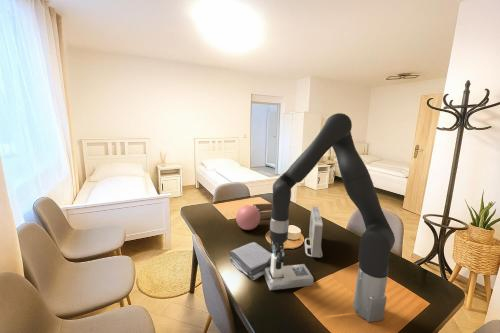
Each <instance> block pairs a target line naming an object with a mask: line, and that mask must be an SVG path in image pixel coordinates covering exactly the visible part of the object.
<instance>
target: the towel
mask: <svg viewBox="0 0 500 333" xmlns="http://www.w3.org/2000/svg"><path fill="white" fill-rule="evenodd" d="M271 253H272V252H270V251H268V250H267V249H266V248H264V247H263V246H261V245H260V244H258V243H257V242H255V241H253V242H249V243H247V244H245V245H244V244H243V245H242V246H240V247H237V248H234V249H233V250H230V252H229V261H230V262H231V264H232V265H234V266H235V267H236V269H237V270H239V271H240V272H242V273H244V274H245V275H246V276H248V277H249V278H250V279H251V280H252V281H255V280H257V279H258V278H260V277H261V276H264V268H269V267H271Z"/></svg>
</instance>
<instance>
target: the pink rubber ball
mask: <svg viewBox="0 0 500 333" xmlns="http://www.w3.org/2000/svg"><path fill="white" fill-rule="evenodd" d="M259 210H260V209H257V208H255V207H253V205H249V204H247V205H243V206H240V208H239V209H238V210H237V212H236V214H235V220H236V224H237V225H238V226H239V227H240V228H241V229H242V230H246V231H250V230H251V231H252V230H254V229H255V228H257V226H258V225H260V222H261V219H260V214H259V212H260V211H261V210H260V211H259Z"/></svg>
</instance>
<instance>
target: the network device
mask: <svg viewBox="0 0 500 333" xmlns="http://www.w3.org/2000/svg"><path fill="white" fill-rule="evenodd" d="M323 226H324V223H323V220H322V216H321V212H320V209H319V207H318V206H311V210H310V220H309V230H308V232H309V233H308V237H306V238H304V252H305V254H306V256H308V257H313V258H322V257H323V251H322V239H323V237H322V236H323V229H324V227H323ZM307 241H309V244H307ZM308 250H310V253H311V254H310V253H308Z"/></svg>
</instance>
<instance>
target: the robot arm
mask: <svg viewBox="0 0 500 333" xmlns="http://www.w3.org/2000/svg"><path fill="white" fill-rule="evenodd" d="M352 127H353V124H352V119H351V118H350V116H348V115H347V114H345V113H341V112H339V113H338V112H337V113H334V114H332V115H329V117H328V118H327V119H326V121H325V123H324V125H323V126H322V127H321V129H320V131H319V132H318V134H317V136H316V137H315V138H314V139H313V141H312V142H311V143H310V144H309V146H307V148H306V149H304V150H303V152H302V153H301V154H300V155H299V156H298V157H297V158H296V159H295V161H294V162H293V163H292V164H291V165H290V166H289V167H288V169H287V170H286V171H285V172H284V173H283V174H281V175H280V176H279V177H278V178H277V179H276V180H275V181H274V183H273V185H272V203H273V205H272V210H270V211H271V218H270V221H269V239H270V249H271V253H275V255H276V269H281V264H282V263H283V264H284V263H285V260H286V256H287V251H286V250H284V249H285V242H288V238H289V237H288V236H289V226H290V223H289V221H290V220H289V216H290V215H289V213H290V204H291V198H292V188H293V187H294V186H295V185H296V184H298V183H301V182H302V181H303V180H305V178H306V177H307V176H308V175H309V174H310V173H311V172H312V171H313V170H314V168H315V167H316V166H317V164H318V163H319V162H320V160H321V159H322V158H323V156H324V155H325V154H326V153H327V152H328V151H329V150H330V149H331V148H332V149H333V151H334V154H335V157H336V160H337V165H338V169H339V173H340V177H341V180H342V183H343V185H344V189H345V191H346V193H347V195H348V197H349V199H350V200H351V201H352V203H353V204H354V205H355V207H356V208H357V209H358V211H359V212H360V215H361V217H362V220H363V224H364V226H365V231H364V232H363V233H362V234H361V237H360V241H359V247H358V248H359V249H358V256H357V258H358V270H357V277H356V282H355V288H354V289H355V290H354V297H353V310H354V312H355V313H356V315H358V316H359V317H360V318H363V320H365V321H367V323H372V322H377V321H378V322H379V321H383V320H384V315H385V309H386V303H387V296H386V295H385V294H386V287H387V281H388V276H389V270H390V268H389V262H390V257H391V256H390V254H391V250H392V249H393V247H394V245H395V242H396V237H395V234H394V232H393V230H392V228H391V226H390V224H389V222H388V219H387V218H386V215H385V214H384V212H383V209H382V206H381V203H380V200H379V196H378V194H377V192H376V189H375V186H374V185H375V184H374V182H373V180H372V177H371V174H370V173H369V170H368V168H367V166H366V164H365V163H364V161H363V159H362V157H361V155H360V154H359V152H358V151H357V149H356V146H355V143H354V140H353V136H352V129H353V128H352Z"/></svg>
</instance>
